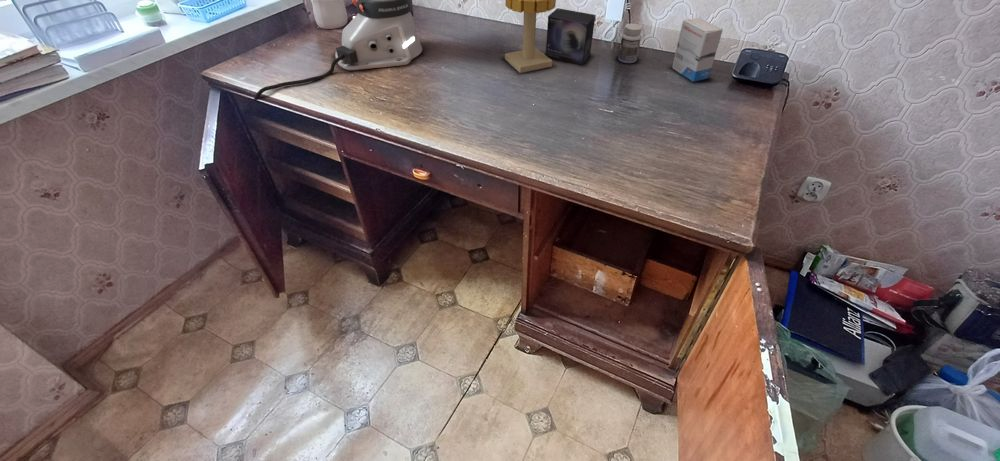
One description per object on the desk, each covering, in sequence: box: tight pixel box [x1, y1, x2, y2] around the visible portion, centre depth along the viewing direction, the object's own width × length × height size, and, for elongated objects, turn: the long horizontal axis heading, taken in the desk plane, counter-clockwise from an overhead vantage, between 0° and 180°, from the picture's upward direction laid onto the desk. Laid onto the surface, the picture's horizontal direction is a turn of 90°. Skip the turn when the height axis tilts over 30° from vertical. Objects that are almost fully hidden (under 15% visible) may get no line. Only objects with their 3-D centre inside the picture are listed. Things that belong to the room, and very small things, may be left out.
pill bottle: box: [617, 23, 643, 64], centre depth 117 cm, size 5×5×8 cm
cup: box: [310, 0, 349, 30], centre depth 136 cm, size 10×10×10 cm
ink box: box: [671, 17, 724, 83], centre depth 110 cm, size 9×5×12 cm, turn 21°
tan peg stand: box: [504, 12, 553, 74], centre depth 114 cm, size 9×9×16 cm
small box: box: [545, 7, 597, 65], centre depth 118 cm, size 11×6×10 cm, turn 62°
